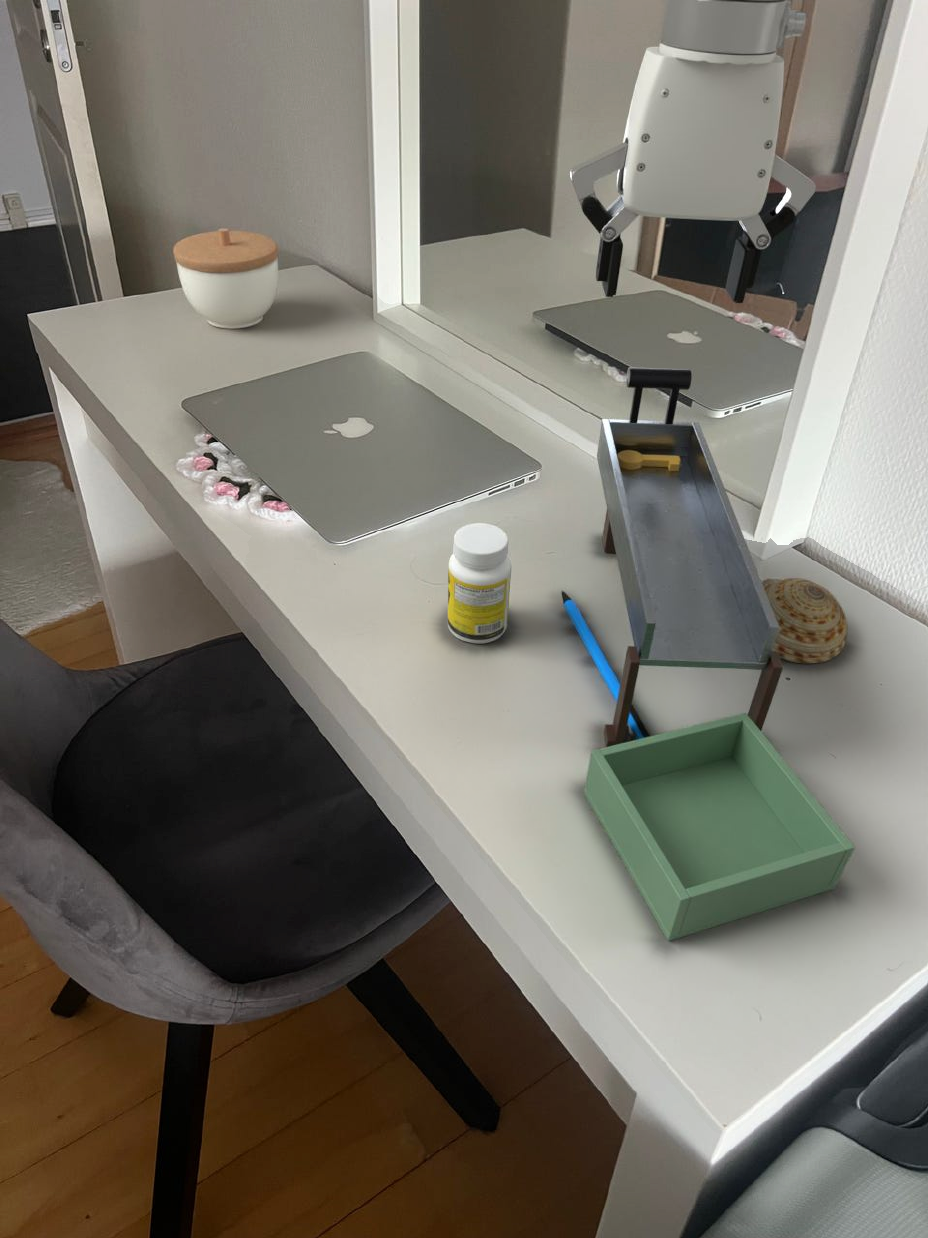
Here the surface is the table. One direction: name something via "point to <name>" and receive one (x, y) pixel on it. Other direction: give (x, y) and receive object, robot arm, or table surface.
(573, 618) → the pen
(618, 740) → the stand
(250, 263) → the lidded bowl
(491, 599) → the supplement bottle
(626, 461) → the key
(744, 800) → the bin
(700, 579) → the trough
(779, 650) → the seashell
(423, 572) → the table surface
